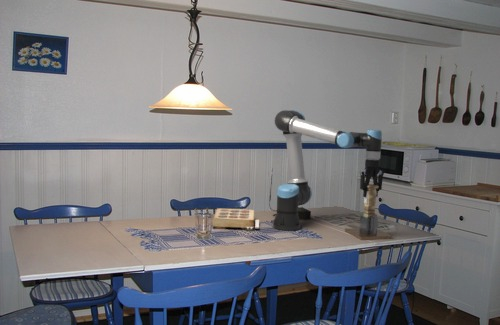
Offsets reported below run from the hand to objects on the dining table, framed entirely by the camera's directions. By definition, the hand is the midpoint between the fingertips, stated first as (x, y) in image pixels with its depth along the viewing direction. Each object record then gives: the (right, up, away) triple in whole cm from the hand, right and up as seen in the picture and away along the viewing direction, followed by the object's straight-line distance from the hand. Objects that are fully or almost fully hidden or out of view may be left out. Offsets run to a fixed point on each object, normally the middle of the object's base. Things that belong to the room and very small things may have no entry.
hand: (369, 202), depth 271 cm
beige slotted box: (-71, -14, +14) cm, 74 cm away
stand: (-1, -17, +2) cm, 17 cm away
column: (0, -12, +1) cm, 12 cm away
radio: (-41, -12, +38) cm, 57 cm away
